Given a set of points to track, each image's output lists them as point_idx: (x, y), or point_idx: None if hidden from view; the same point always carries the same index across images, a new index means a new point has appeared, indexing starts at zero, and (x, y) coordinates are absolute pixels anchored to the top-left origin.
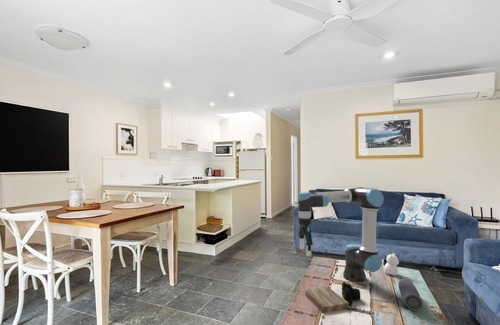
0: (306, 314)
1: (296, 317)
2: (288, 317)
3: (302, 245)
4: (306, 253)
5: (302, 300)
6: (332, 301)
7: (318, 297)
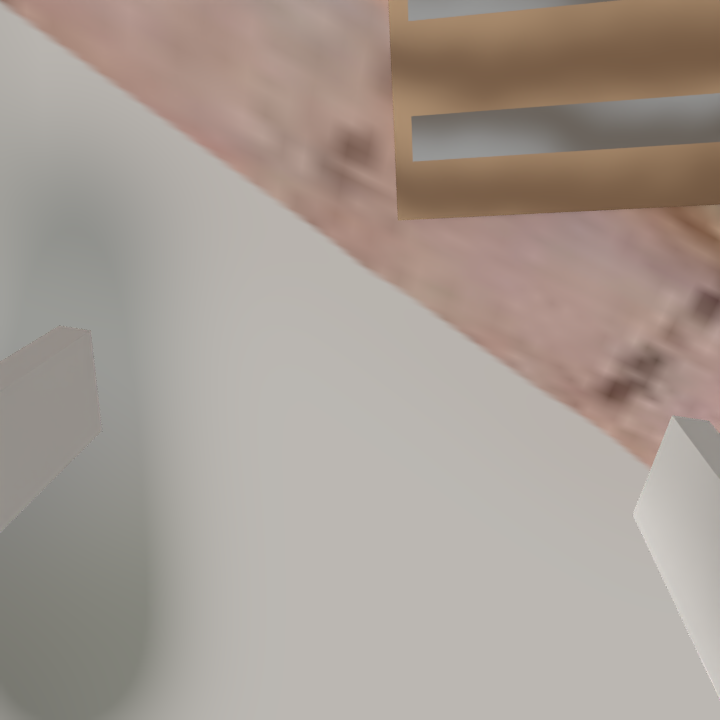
0: (689, 340)
1: None
2: None
3: (35, 426)
4: (655, 559)
5: (480, 279)
6: (714, 40)
7: (576, 157)
